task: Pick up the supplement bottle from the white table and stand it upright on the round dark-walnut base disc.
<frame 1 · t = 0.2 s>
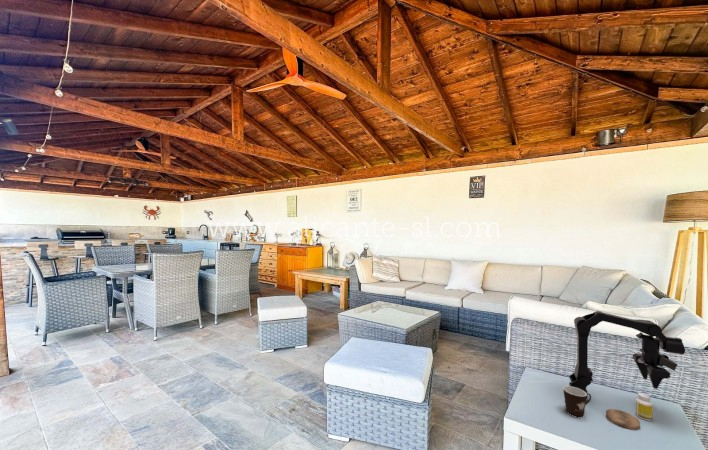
hand: (650, 383, 134), 14 cm above the table, fingers open, 9 cm apart
walnut base: (622, 421, 128), on the table
supplement bottle: (644, 417, 131), on the table
coffee mug: (578, 414, 133), on the table
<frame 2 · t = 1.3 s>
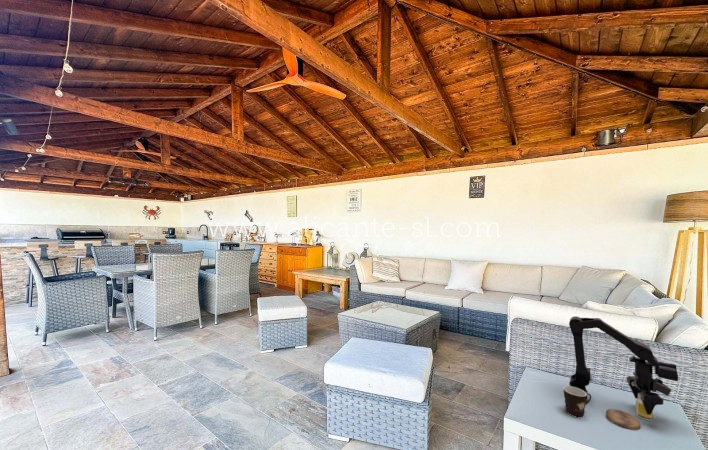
hand: (643, 408, 131), 4 cm above the table, fingers open, 9 cm apart
nothing on the table moved.
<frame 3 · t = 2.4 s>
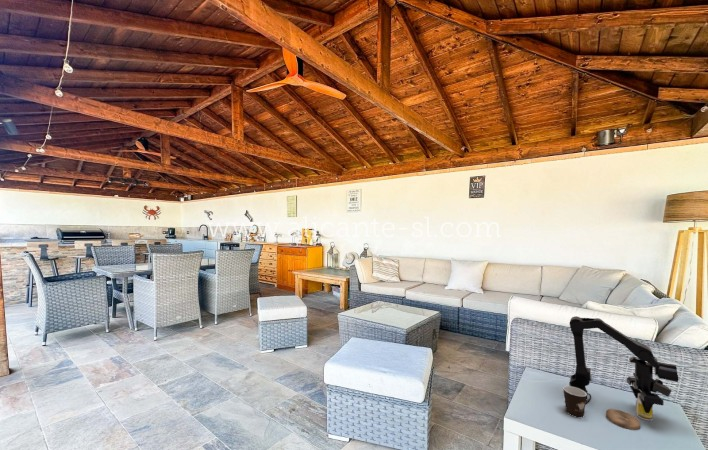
hand: (643, 409, 131), 4 cm above the table, fingers closed on supplement bottle, 5 cm apart
supplement bottle: (644, 417, 131), on the table, touching gripper
everything else where it was.
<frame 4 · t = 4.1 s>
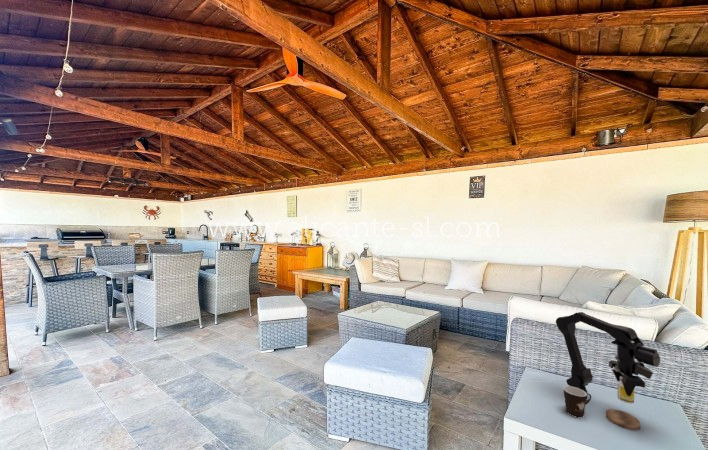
hand: (625, 392, 129), 12 cm above the table, fingers closed on supplement bottle, 5 cm apart
supplement bottle: (625, 400, 129), point 9 cm above the table, touching gripper
everything else where it was.
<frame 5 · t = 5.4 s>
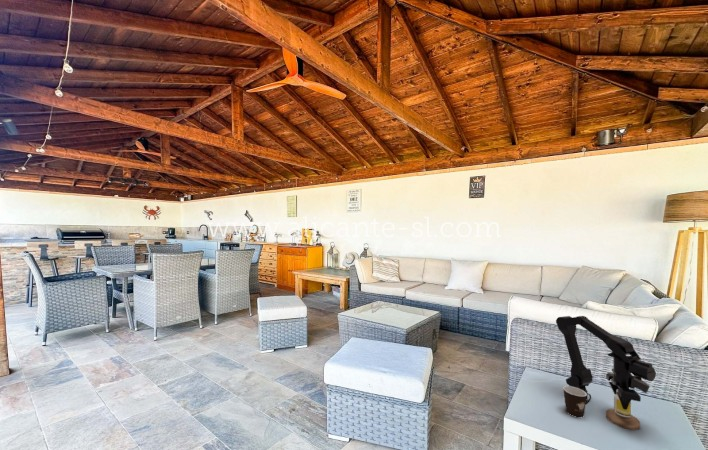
hand: (622, 405, 129), 7 cm above the table, fingers closed on supplement bottle, 5 cm apart
supplement bottle: (622, 414, 128), point 3 cm above the table, touching gripper
everything else where it was.
when the fingers open (7 cm above the table, at t = 6.1 s): supplement bottle drops 1 cm, resting on walnut base.
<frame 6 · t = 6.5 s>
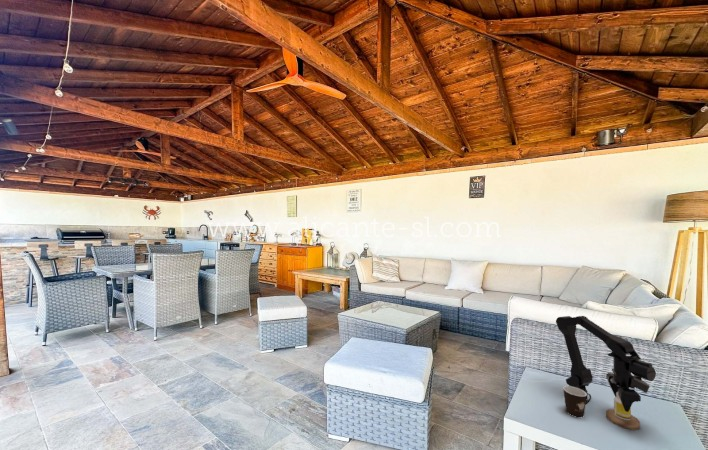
hand: (622, 405, 128), 7 cm above the table, fingers open, 9 cm apart
supplement bottle: (622, 417, 128), point 2 cm above the table, touching walnut base
everything else where it was.
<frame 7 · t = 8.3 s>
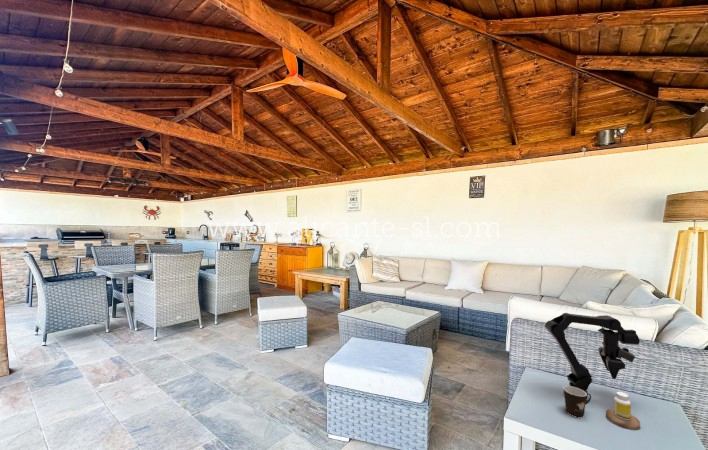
hand: (611, 374, 144), 13 cm above the table, fingers open, 9 cm apart
nothing on the table moved.
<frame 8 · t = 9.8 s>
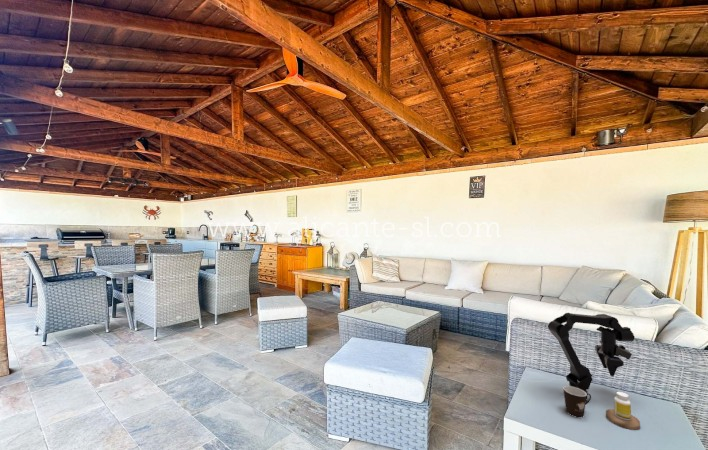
hand: (608, 372, 146), 13 cm above the table, fingers open, 9 cm apart
nothing on the table moved.
at the end: supplement bottle 0.1 cm from the walnut base (horizontally); supplement bottle inside the target area on the walnut base (0.1 cm from its centre), point 1.8 cm above the walnut base's base; supplement bottle tilted 0° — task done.
